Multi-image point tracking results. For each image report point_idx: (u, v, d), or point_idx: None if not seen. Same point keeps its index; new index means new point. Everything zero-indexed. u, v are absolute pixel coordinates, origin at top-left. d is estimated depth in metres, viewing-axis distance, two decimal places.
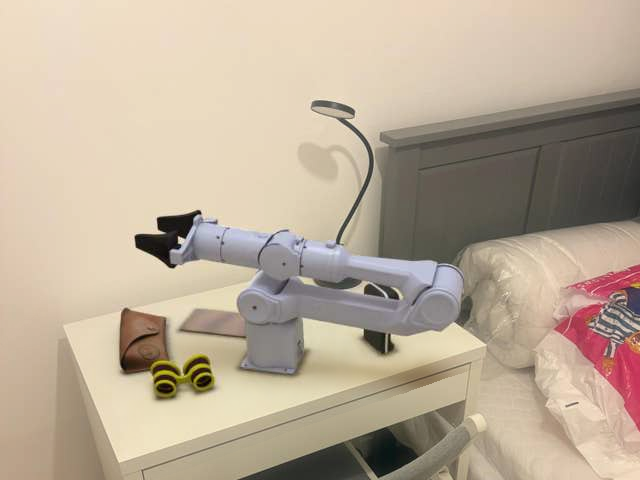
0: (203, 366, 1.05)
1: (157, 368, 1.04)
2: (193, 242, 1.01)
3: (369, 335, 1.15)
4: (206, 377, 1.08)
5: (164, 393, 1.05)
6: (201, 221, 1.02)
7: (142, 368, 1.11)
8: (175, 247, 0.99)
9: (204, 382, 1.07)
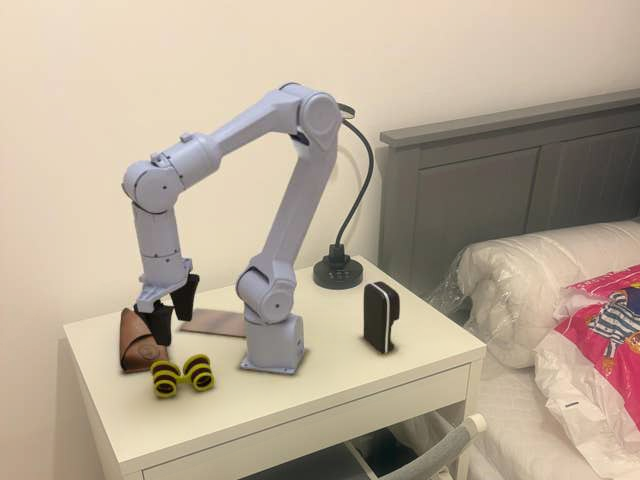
0: (203, 366, 1.05)
1: (157, 368, 1.04)
2: (151, 285, 0.94)
3: (369, 335, 1.15)
4: (206, 377, 1.08)
5: (164, 393, 1.05)
6: None
7: (142, 368, 1.11)
8: None
9: (204, 382, 1.07)
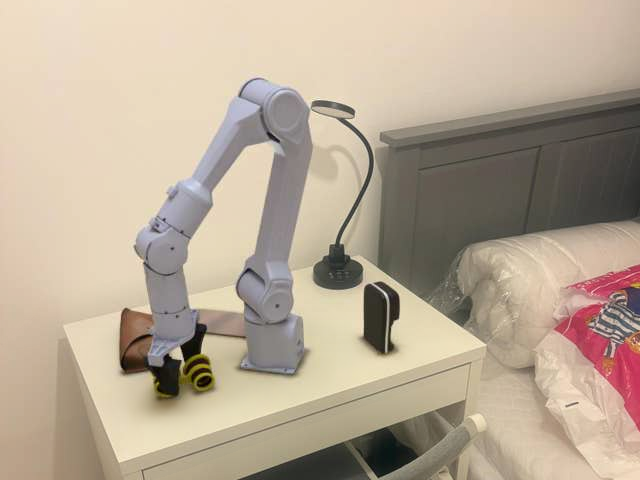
0: (203, 366, 1.05)
1: None
2: (161, 338, 0.99)
3: (369, 335, 1.15)
4: (206, 377, 1.08)
5: (164, 393, 1.05)
6: None
7: (142, 368, 1.11)
8: None
9: (204, 382, 1.07)
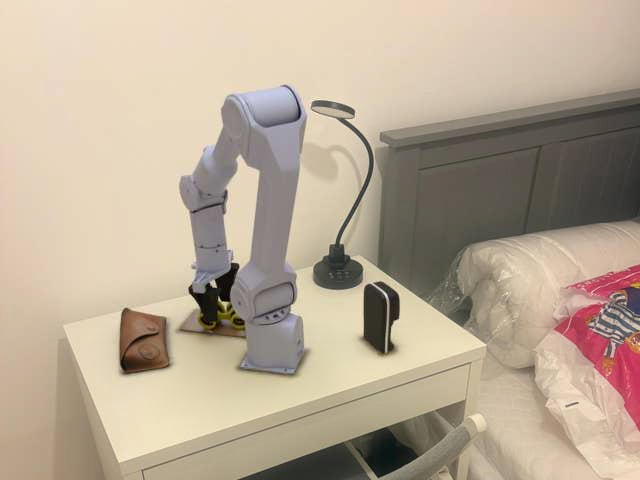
0: None
1: None
2: (202, 271, 1.15)
3: (369, 335, 1.15)
4: None
5: (207, 325, 1.22)
6: None
7: (142, 368, 1.11)
8: None
9: (243, 322, 1.23)
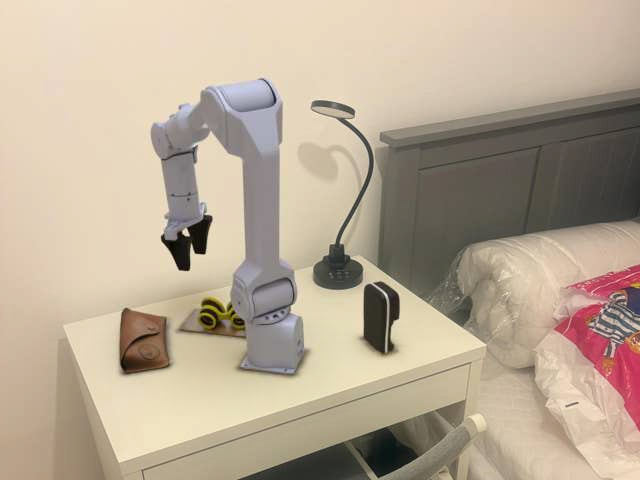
0: None
1: (204, 302, 1.22)
2: (175, 220, 1.18)
3: (369, 335, 1.15)
4: None
5: (207, 325, 1.22)
6: None
7: (142, 368, 1.11)
8: None
9: (243, 322, 1.23)
